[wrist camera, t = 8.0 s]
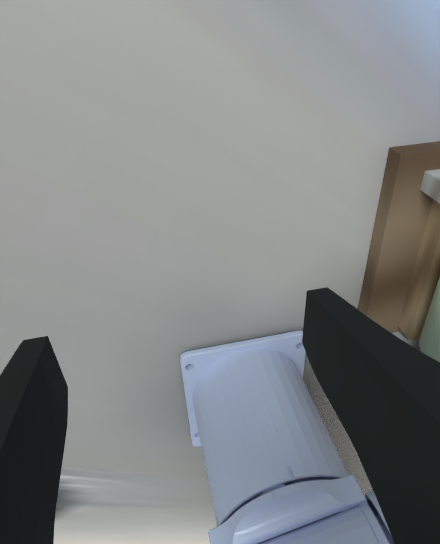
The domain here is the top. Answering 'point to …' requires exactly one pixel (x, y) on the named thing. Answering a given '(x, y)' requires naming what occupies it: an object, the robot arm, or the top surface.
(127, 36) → the top surface
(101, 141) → the top surface
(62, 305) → the top surface
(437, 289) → the roll
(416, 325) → the holder
